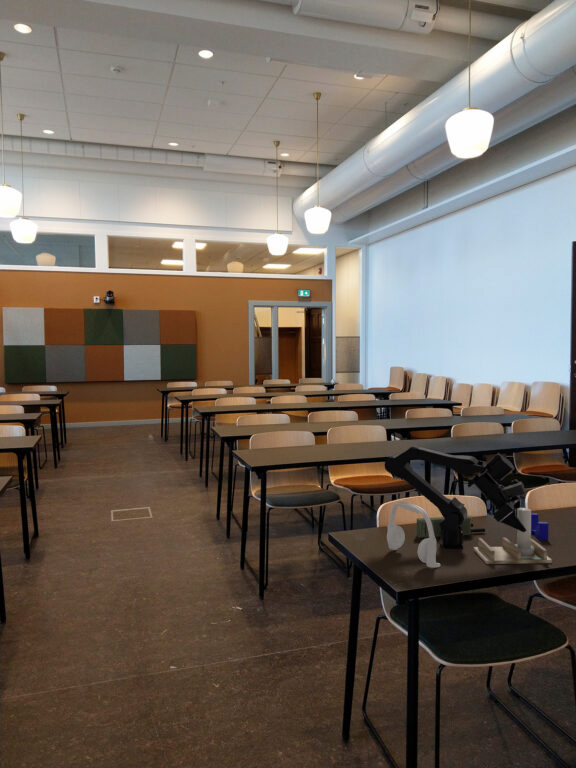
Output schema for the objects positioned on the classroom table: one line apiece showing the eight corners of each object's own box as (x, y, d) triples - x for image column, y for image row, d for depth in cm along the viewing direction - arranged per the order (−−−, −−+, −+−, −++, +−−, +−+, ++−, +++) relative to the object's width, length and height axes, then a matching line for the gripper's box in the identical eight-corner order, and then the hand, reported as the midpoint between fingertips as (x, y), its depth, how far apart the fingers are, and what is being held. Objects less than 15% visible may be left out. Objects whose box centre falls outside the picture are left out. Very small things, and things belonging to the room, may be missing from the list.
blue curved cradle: (523, 529, 205) (524, 513, 204) (536, 529, 204) (536, 513, 204) (534, 540, 193) (534, 523, 193) (548, 540, 192) (548, 523, 192)
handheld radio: (415, 535, 200) (482, 531, 203) (418, 539, 197) (486, 535, 199) (415, 517, 199) (482, 513, 202) (419, 520, 196) (487, 516, 199)
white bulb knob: (512, 554, 176) (512, 510, 176) (514, 548, 182) (515, 506, 181) (533, 557, 174) (533, 513, 173) (535, 551, 179) (535, 508, 178)
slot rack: (486, 563, 172) (486, 551, 172) (473, 550, 184) (473, 538, 184) (551, 562, 172) (551, 550, 171) (534, 549, 184) (534, 537, 183)
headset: (382, 551, 184) (382, 497, 183) (399, 547, 187) (399, 495, 186) (424, 572, 166) (424, 513, 165) (442, 567, 170) (442, 509, 169)
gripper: (505, 479, 170) (544, 519, 166) (513, 467, 187) (549, 504, 182) (478, 501, 175) (515, 541, 170) (488, 488, 191) (523, 524, 186)
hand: (527, 527), depth 177 cm, fingers open, 9 cm apart
